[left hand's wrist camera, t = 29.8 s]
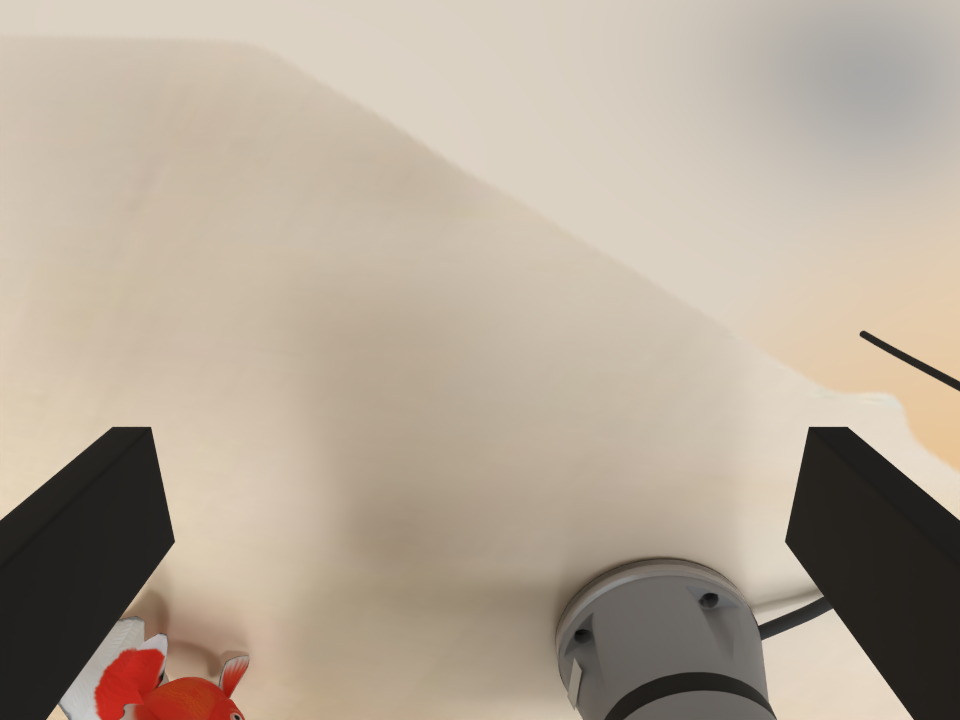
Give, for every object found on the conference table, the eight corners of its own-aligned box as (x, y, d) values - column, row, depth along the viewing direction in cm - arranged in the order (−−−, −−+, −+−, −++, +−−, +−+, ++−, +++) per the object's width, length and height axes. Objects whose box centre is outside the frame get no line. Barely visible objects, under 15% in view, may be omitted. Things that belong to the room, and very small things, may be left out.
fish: (199, 803, 49) (112, 884, 39) (80, 652, 52) (-28, 692, 42) (295, 698, 50) (233, 752, 40) (172, 555, 53) (87, 573, 43)
